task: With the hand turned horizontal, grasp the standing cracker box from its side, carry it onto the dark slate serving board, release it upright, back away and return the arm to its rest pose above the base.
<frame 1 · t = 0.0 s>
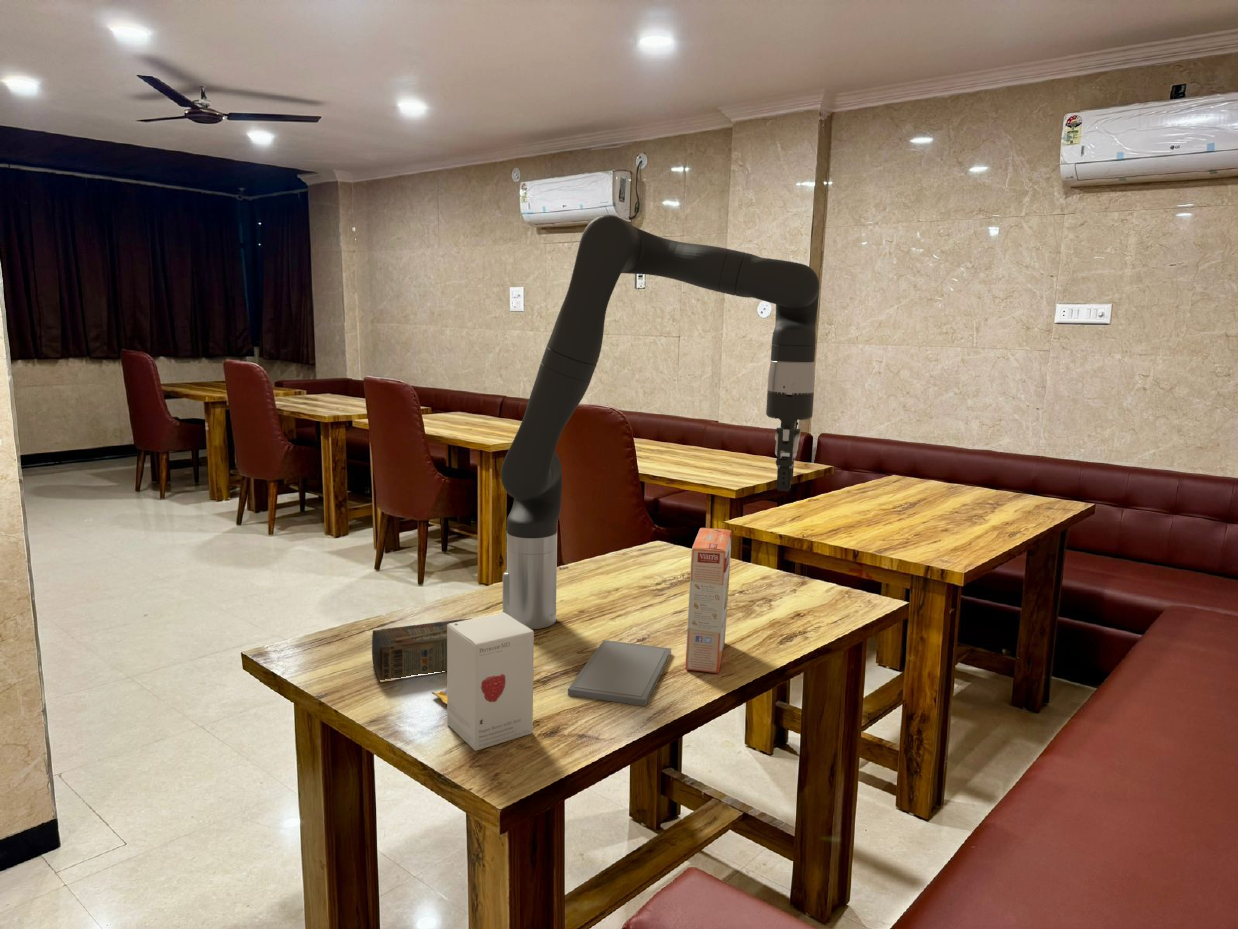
hand: (784, 485, 137), 29 cm above the table, tool pointing down, fingers open, 8 cm apart
slate board: (622, 673, 131), on the table
cracker box: (706, 657, 139), on the table
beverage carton: (435, 667, 133), on the table
candy bar: (485, 690, 125), on the table
supplement box: (490, 731, 112), on the table
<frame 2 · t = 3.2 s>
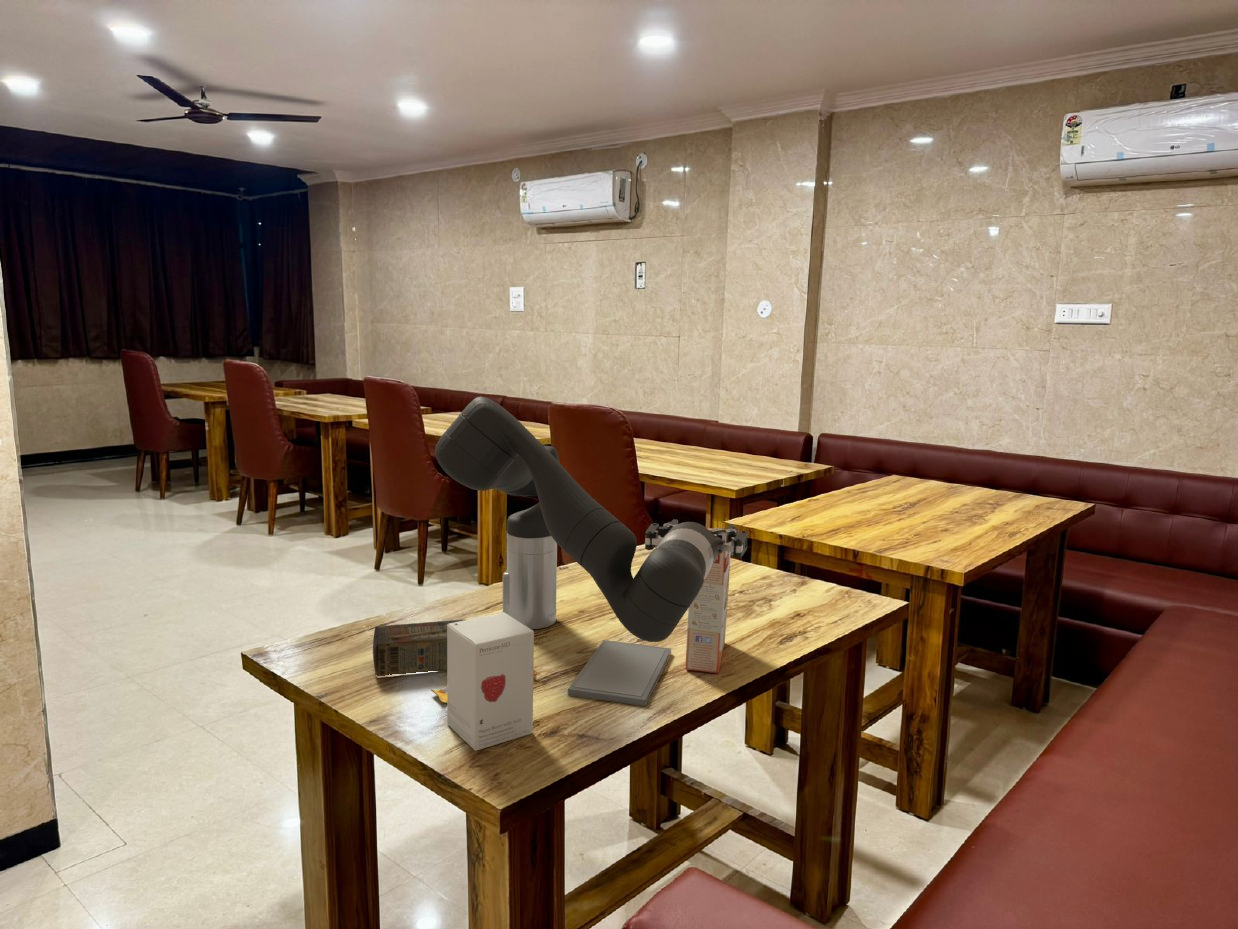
hand: (703, 528, 123), 25 cm above the table, tool horizontal, fingers open, 8 cm apart
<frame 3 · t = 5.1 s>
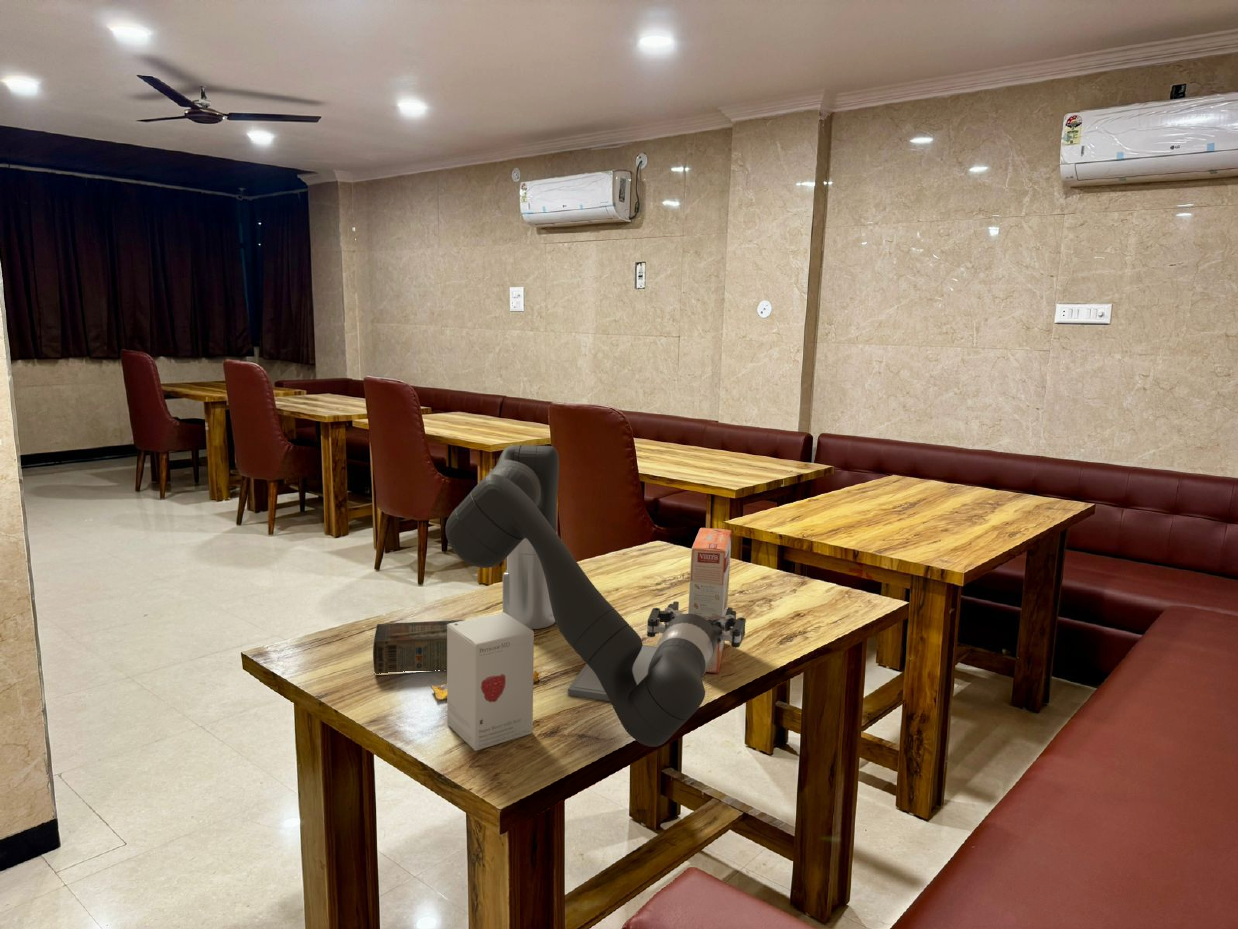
hand: (703, 610, 128), 11 cm above the table, tool horizontal, fingers open, 8 cm apart
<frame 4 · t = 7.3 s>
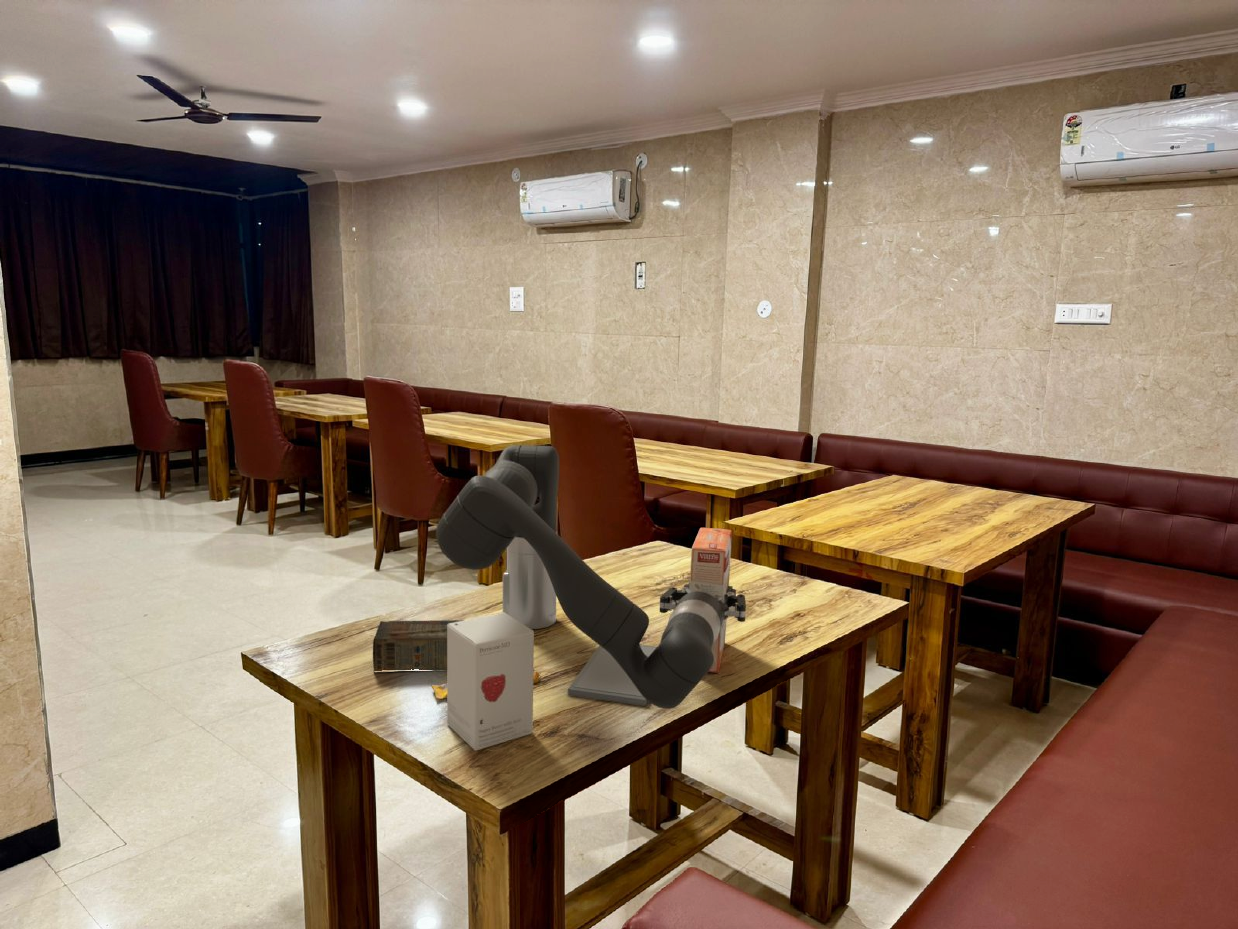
hand: (711, 589, 137), 12 cm above the table, tool horizontal, fingers closed on cracker box, 6 cm apart
cracker box: (706, 657, 139), on the table, touching gripper
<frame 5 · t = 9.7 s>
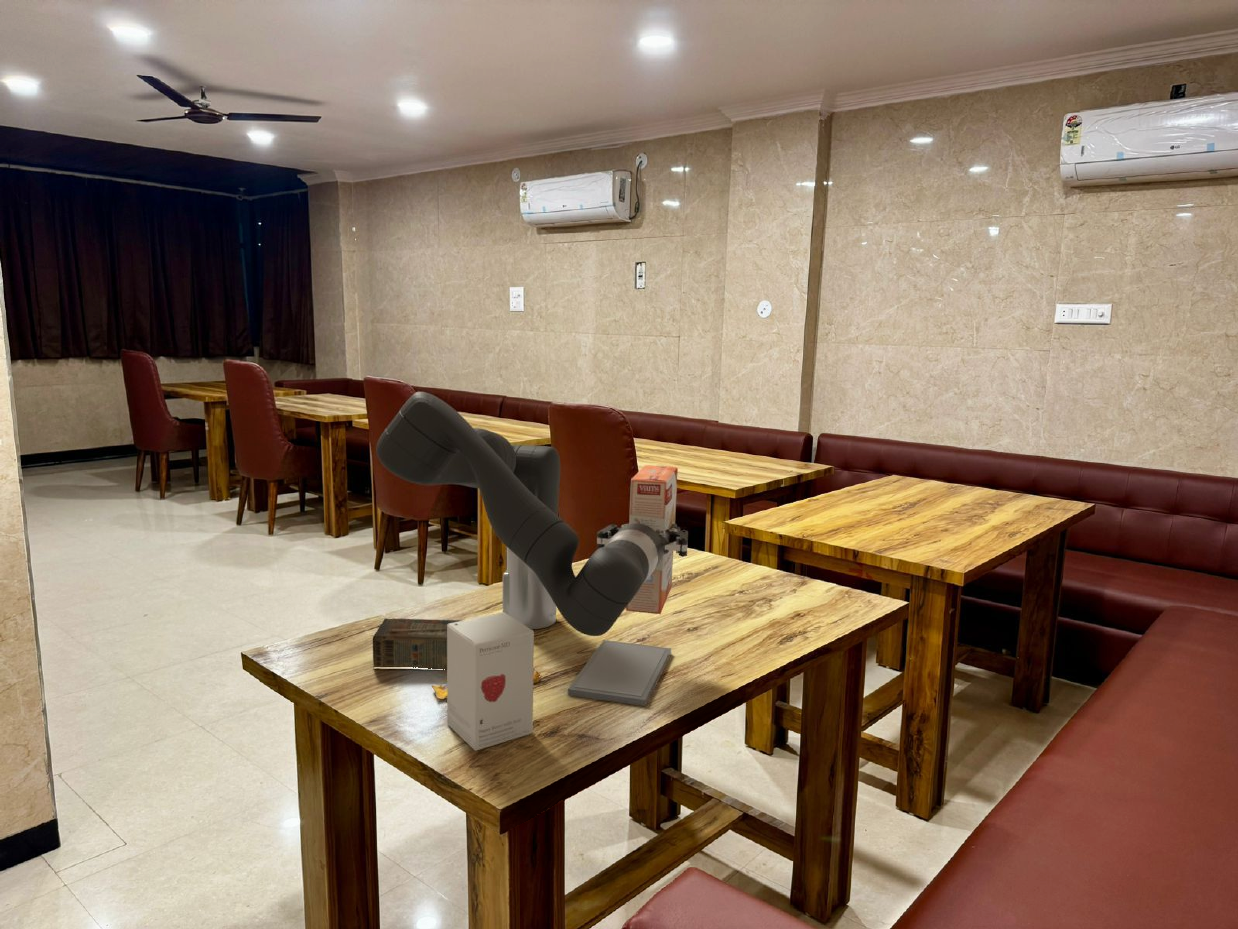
hand: (654, 528, 130), 23 cm above the table, tool horizontal, fingers closed on cracker box, 6 cm apart
cracker box: (650, 600, 131), point 12 cm above the table, touching gripper
when the fingers open (13 cm above the table, at t = 12.6 s): cracker box stays where it is, resting on slate board.
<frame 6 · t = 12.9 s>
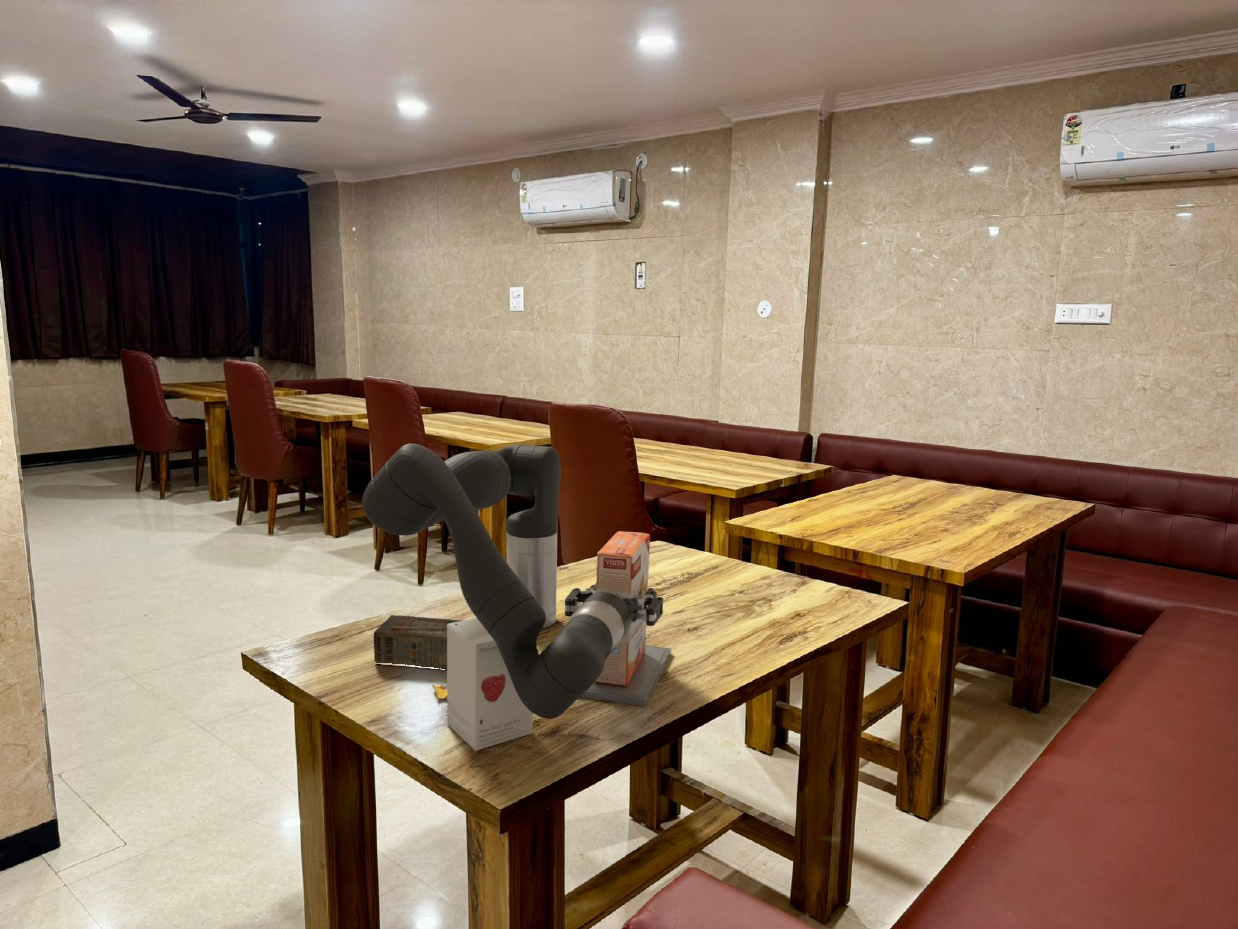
hand: (625, 591, 129), 14 cm above the table, tool horizontal, fingers open, 8 cm apart
cracker box: (621, 668, 130), point 1 cm above the table, touching slate board
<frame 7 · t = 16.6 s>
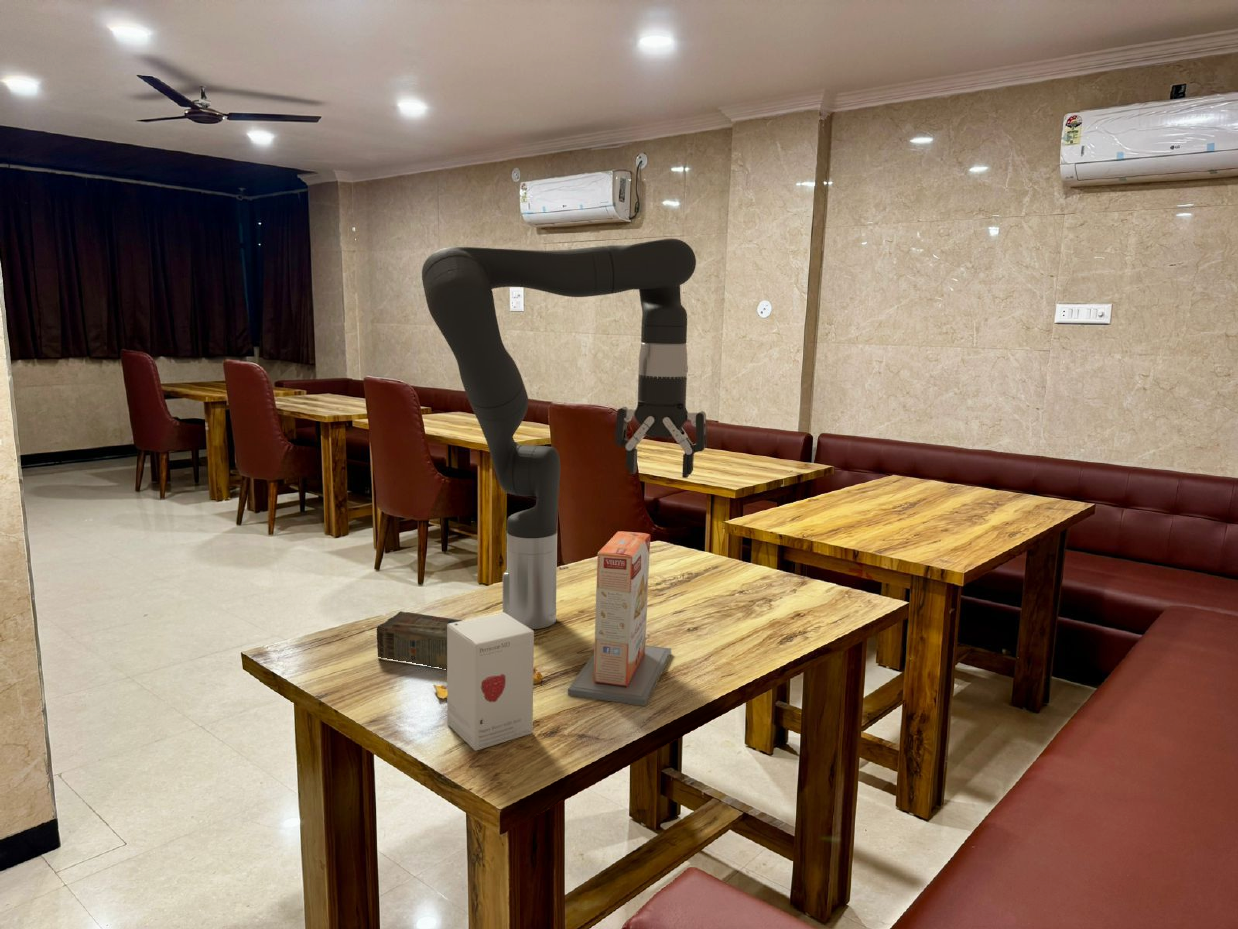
hand: (659, 474, 129), 32 cm above the table, tool pointing down, fingers open, 8 cm apart
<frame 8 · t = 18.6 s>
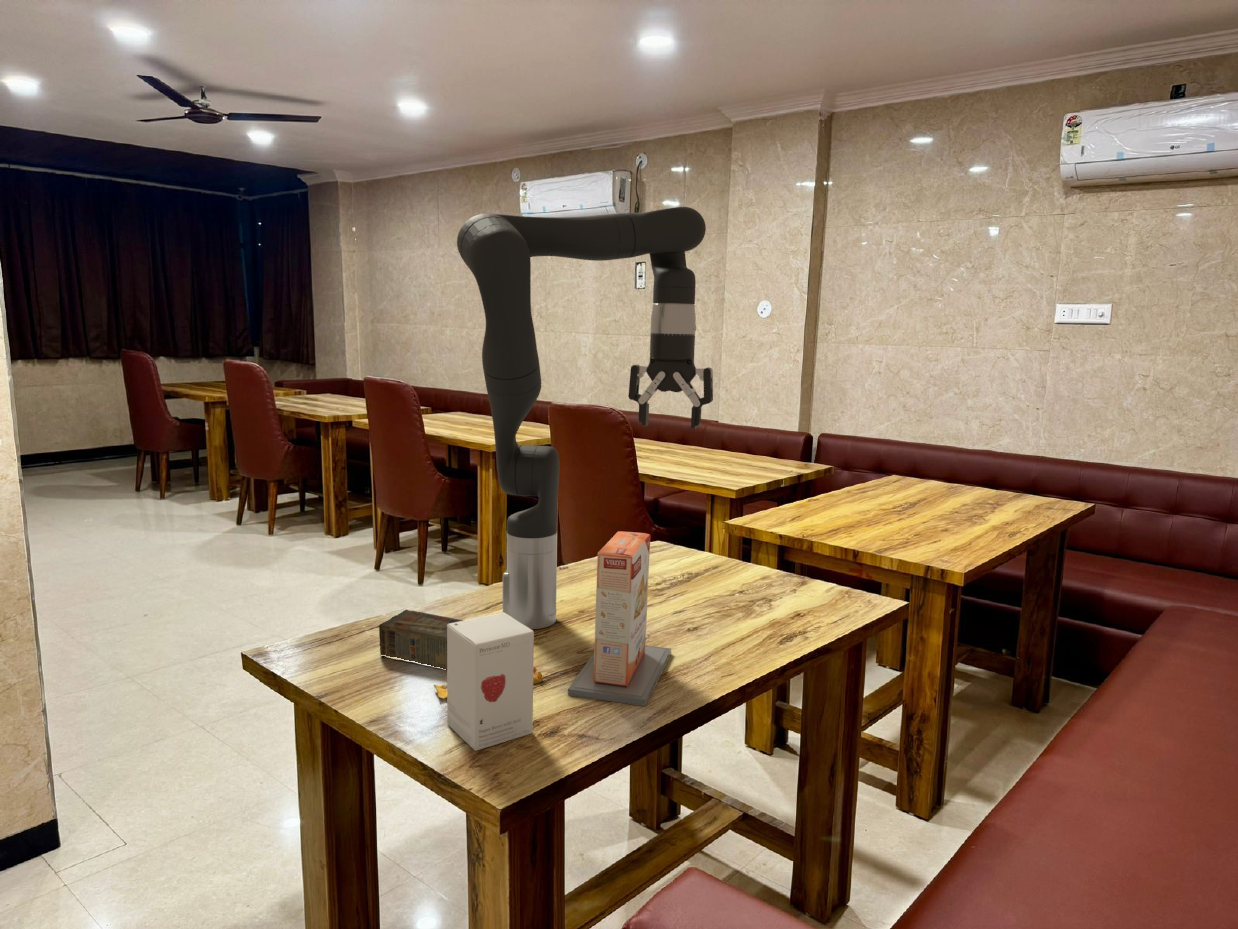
hand: (669, 427, 140), 38 cm above the table, tool pointing down, fingers open, 8 cm apart
at the end: cracker box 0.3 cm from the slate board (horizontally); cracker box tilted 0°; the gripper is holding nothing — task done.
